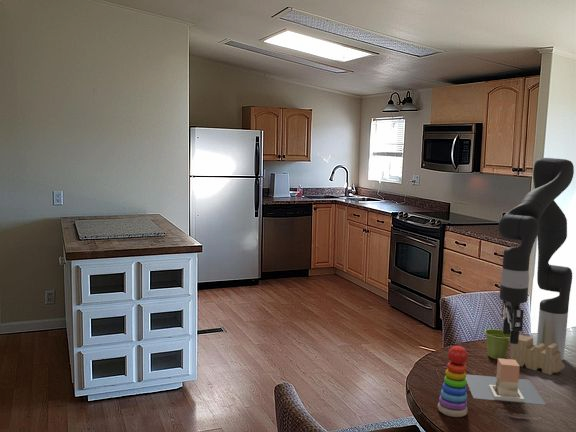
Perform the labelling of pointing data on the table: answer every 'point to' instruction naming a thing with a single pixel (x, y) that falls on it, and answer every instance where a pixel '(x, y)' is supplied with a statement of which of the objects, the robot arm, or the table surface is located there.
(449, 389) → the stacking toy
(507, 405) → the table surface
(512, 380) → the terracotta block
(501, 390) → the maple block
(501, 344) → the plant pot
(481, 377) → the board
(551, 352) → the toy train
